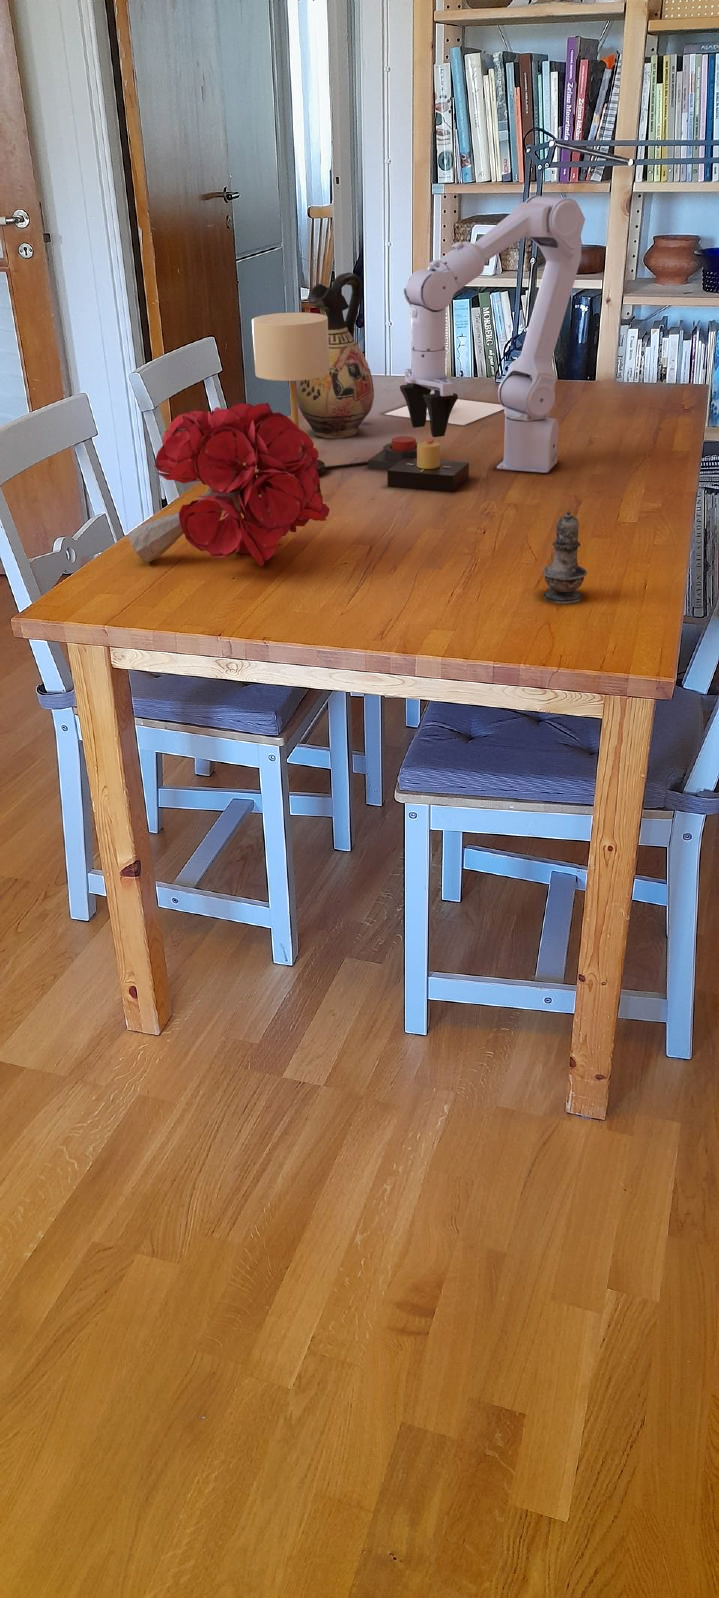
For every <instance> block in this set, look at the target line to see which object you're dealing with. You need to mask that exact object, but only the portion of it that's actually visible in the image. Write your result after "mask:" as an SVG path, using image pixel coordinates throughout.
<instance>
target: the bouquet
mask: <svg viewBox="0 0 719 1598" xmlns="http://www.w3.org/2000/svg"><path fill="white" fill-rule="evenodd" d="M270 404H271V403H270V402H266V403H265V402H262V403H261V402H260V403H257V404H255V405H252V404H251V403H238V404H235V405H232V406H229V408H220V407H219V406H216V407H214V409H213V410H211V411H209V410H207V411H204V410H193V411H189V412H184V413H181V414H180V415H177V416H176V417H175V418H174V419H173V420H171V422H170V423H169V427H168V430H167V429H166V430H165V432H164V434H163V435H162V436H163V437H162V446H161V447H160V448H159V450H158V451H157V453H156V456H155V460H154V461H155V463H154V467H155V468H156V469H157V471H158V472H157V471H156V472H155V473H156V474H157V475H159V476H160V477H162V478H163V479H165V480H166V481H175V482H179V483H181V484H188V483H194V482H199V481H200V483H202V484H203V485H204V486H208V487H209V488H208V489H207V490H206V492H205V493H203V495H197V497H198V498H199V499H195V500H191V501H190V503H188V504H187V503H186V504H182V505H181V508H180V509H179V511H178V512H175V513H172V514H170V515H166V516H163V517H160V518H156V519H153V520H151V521H148V522H145V523H143V524H141V525H139V526H138V527H136V528H134V529H132V530H131V531H130V532H128V540H129V543H130V545H131V547H132V549H133V550H134V552H135V553H136V555H137V556H138V557H139V558H140V560H142V562H145V563H146V564H148V563H151V562H153V561H154V560H156V559H158V558H159V557H161V556H162V555H163V554H164V553H165V552H167V551H168V550H169V549H170V548H171V547H172V546H173V545H174V544H175V543H176V542H177V541H178V540H179V538H181V536H183V534H184V537H185V540H186V541H187V542H188V543H189V544H190V545H191V546H193V548H196V549H197V550H199V551H200V552H206V553H208V554H209V555H210V556H211V557H213V558H227V557H230V556H231V555H232V554H234V553H235V554H236V553H241V554H250V555H251V556H252V559H253V560H254V561H255V562H256V563H257V564H258V565H259V566H260V567H263V566H264V564H265V563H266V561H269V560H270V559H271V558H272V556H273V555H274V554H275V551H276V550H277V547H278V544H279V542H280V541H281V540H282V537H286V536H287V534H288V533H289V532H291V533H297V527H306V525H307V524H308V522H309V521H310V520H312V521H314V522H315V521H316V522H318V521H320V522H325V521H327V518H328V517H329V515H330V508H329V507H328V505H327V504H326V503H324V496H323V494H322V490H321V478H320V476H319V475H318V472H317V470H318V463H317V460H318V458H319V451H318V449H317V448H316V447H314V446H315V443H314V441H313V440H312V438H311V437H310V436H309V434H308V433H307V432H306V431H304V430H303V429H301V428H300V426H299V427H298V426H297V425H296V424H295V423H294V422H293V421H292V419H290V418H289V416H287V415H285V414H283V413H282V412H273V409H272V407H271V405H270ZM316 459H317V460H316ZM256 470H257V472H256ZM223 512H224V513H223ZM221 518H222V519H221Z"/></svg>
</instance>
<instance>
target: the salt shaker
mask: <svg viewBox="0 0 719 1598" xmlns="http://www.w3.org/2000/svg"><path fill="white" fill-rule="evenodd" d="M571 513H572V512H571V510H570V509H567V510H566V511H565V515H564V516H561V517H559V518H558V519H557V521H556V526H555V527H556V528H555V529H556V530H555V540H554V541H553V542H552V546H553V547H554V550H553V553H554V554H553V560H552V564H550V565H548V566H545V567H544V568H543V569H542V574H543V575H544V581H545V583H546V585H547V587H549V590H546V591H545V592H544V593H543V595H542V598H543V599H544V600H546V602H547V601H548V602H549V603H554V604H559V605H560V604H561V605H569V604H575V603H579V602H580V601H582V600H583V598H584V596H583V594H582V593H581V592H580V591H578V589H579V588H580V587H581V586H582V585H583V582H584V580H585V577H586V576H587V574H588V571H587V569H586V568H584V567H583V566H581V565H579V563H578V551H579V549H578V548H579V547H580V546H581V542H580V541H579V526H580V524H579V523H580V522H579V520H578V518H576V517H575V516H572V515H571Z"/></svg>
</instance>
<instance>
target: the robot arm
mask: <svg viewBox="0 0 719 1598" xmlns="http://www.w3.org/2000/svg"><path fill="white" fill-rule="evenodd" d="M585 221H586V217H585V216H584V213H583V211H582V208H581V207H580V205H579V203H578V202H577V201H576V200H575V199H573V198H571V197H552V196H543V195H539V194H533V195H531V196H530V197H528V198H526V200H525V201H522V202H521V203H518V204H516V206H515V208H514V209H513V211H512V212H511V213H509V214H508V215H507V216H506V217H504V218H503V219H502V220H501V221H499V222H498V223H497V224H496V225H495V226H494V227H492V228H491V229H490V230H489V231H488V232H486V233H485V234H484V235H482V236H481V237H479V238H478V239H477V240H476V241H475V242H474V243H472V242H469V241H462V242H458V241H456V242H455V243H453V244H451V249H452V250H450V251H449V252H447V253H446V254H445V255H443V256H442V257H440V258H438V260H435V259H433V260H432V261H430V262H429V266H428V268H427V269H422V268H421V269H418V270H416V271H413V273H411V275H410V276H409V279H408V280H407V282H406V287H405V288H403V295H404V298H405V300H406V302H407V303H408V305H409V309H410V313H409V314H410V351H411V353H410V357H411V359H410V361H411V362H410V363H411V367H410V368H406V369H404V381H405V383H406V384H402V385H399V390H400V392H401V394H402V395H403V398H404V400H405V403H406V406H408V410H409V414H410V418H409V419H410V423H411V426H412V428H413V429H416V428H425V426H426V422H427V420H426V415H427V408H428V412H429V418H430V421H429V428H430V434H431V437H433V438H440V437H445V434H446V431H447V428H448V424H449V423H448V420H449V416H450V413H451V411H452V408H453V406H454V404H455V402H456V401H457V399H459V394H458V393H455V392H454V382H451V381H450V379H449V378H448V375H447V374H446V341H447V339H446V338H447V337H446V336H447V335H446V333H447V331H446V330H447V329H446V324H447V308H448V307H449V306H450V305H451V302H452V300H453V297H454V295H455V294H456V293H457V292H459V291H460V290H461V289H463V288H464V287H466V286H467V285H469V284H471V282H473V281H474V280H475V279H477V278H478V277H480V276H481V275H482V274H483V273H484V270H485V264H486V263H487V262H488V261H489V260H490V259H492V258H494V257H495V256H497V255H498V254H500V253H502V252H503V251H505V250H506V249H508V248H509V247H511V246H513V245H514V244H516V243H517V242H518V241H520V240H522V239H524V238H529V239H530V240H531V241H532V242H533V243H534V244H535V245H537V247H538V248H539V250H540V251H541V253H542V255H543V257H544V259H545V265H544V270H543V273H542V276H541V281H540V284H539V287H538V291H537V295H536V298H535V301H534V305H533V309H532V313H531V316H530V320H529V323H528V326H527V330H526V335H525V338H524V341H523V345H522V349H521V352H520V355H519V356H518V357H517V358H516V359H514V360H513V361H512V362H511V363H510V364H509V365H508V369H507V372H506V374H505V376H504V377H503V379H502V380H501V382H500V383H499V386H498V390H497V398H498V402H499V405H502V406H503V407H504V409H503V414H504V435H503V436H504V438H503V460H502V461H501V462H500V463H498V465H497V466H496V469H497V470H501V471H502V470H505V471H516V472H526V473H527V472H529V473H540V474H541V473H542V474H547V473H549V472H550V471H551V469H553V468H554V466H555V465H557V463H558V444H559V421H558V419H557V418H554V417H550V416H549V417H548V415H549V414H550V412H551V411H552V409H553V408H554V405H555V403H556V402H555V401H556V391H555V390H556V389H555V388H556V382H557V379H558V377H557V375H556V372H555V371H554V368H553V366H552V360H553V357H554V355H555V354H554V353H555V350H556V346H557V343H558V339H559V335H560V332H561V329H562V326H563V323H564V319H565V316H566V312H567V308H568V305H569V301H570V297H571V295H572V291H573V288H574V284H575V280H576V277H577V274H578V270H579V266H580V263H581V260H582V232H583V229H584V226H585ZM432 390H433V391H434V394H430V393H431V391H432Z"/></svg>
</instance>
